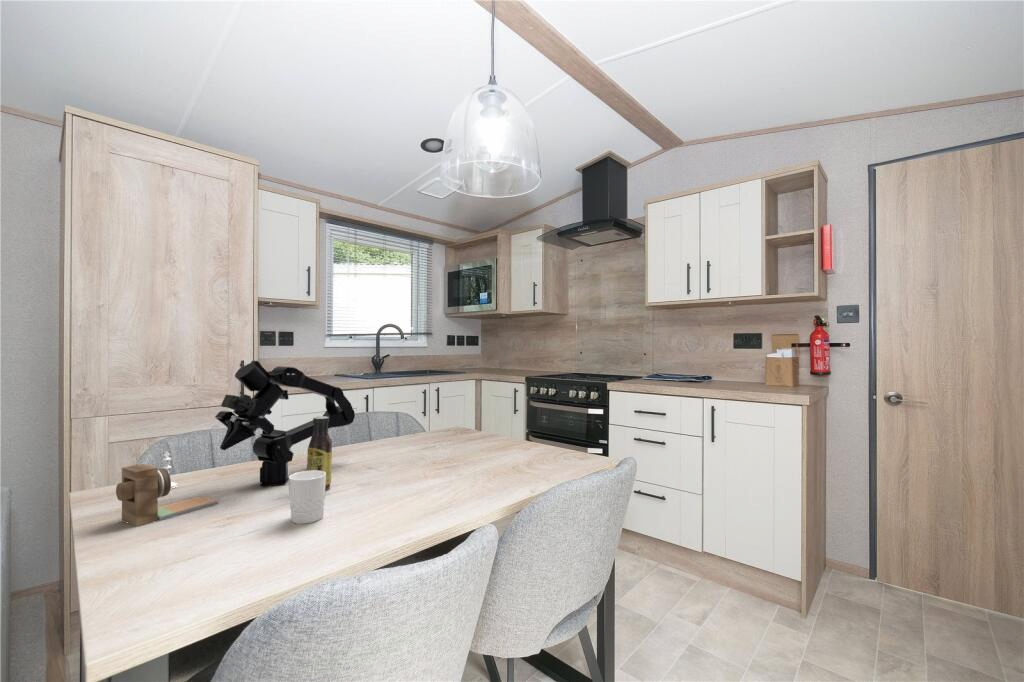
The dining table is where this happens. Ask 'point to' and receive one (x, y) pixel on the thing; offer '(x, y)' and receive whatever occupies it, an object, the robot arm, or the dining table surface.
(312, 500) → the white cup
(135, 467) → the block
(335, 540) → the dining table surface
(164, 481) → the peg
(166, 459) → the chess piece
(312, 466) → the sauce bottle
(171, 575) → the dining table surface
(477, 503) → the dining table surface
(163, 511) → the board
